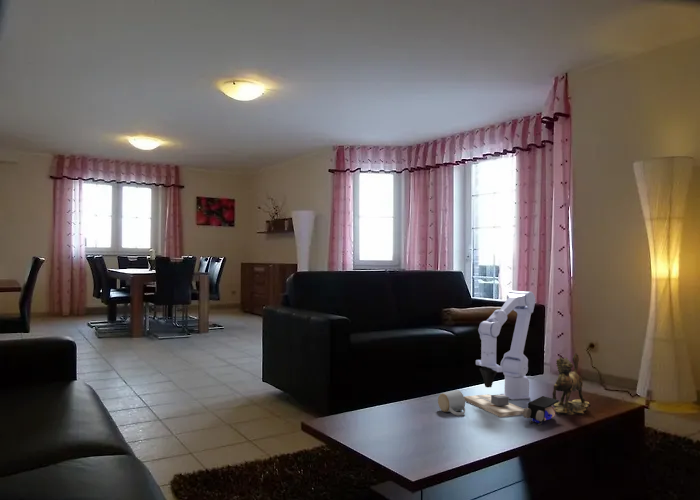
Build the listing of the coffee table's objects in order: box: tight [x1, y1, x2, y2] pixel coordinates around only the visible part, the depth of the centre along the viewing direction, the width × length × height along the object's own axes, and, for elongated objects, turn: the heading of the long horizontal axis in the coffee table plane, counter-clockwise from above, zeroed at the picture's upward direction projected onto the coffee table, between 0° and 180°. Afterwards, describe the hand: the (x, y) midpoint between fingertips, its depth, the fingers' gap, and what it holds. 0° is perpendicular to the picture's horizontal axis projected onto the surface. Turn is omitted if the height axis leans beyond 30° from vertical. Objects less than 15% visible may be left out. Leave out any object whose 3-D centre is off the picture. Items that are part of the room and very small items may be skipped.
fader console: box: [463, 394, 525, 418], centre depth 197 cm, size 12×23×2 cm, turn 21°
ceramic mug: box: [437, 389, 466, 417], centre depth 189 cm, size 10×8×7 cm
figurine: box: [552, 352, 591, 416], centre depth 199 cm, size 13×25×20 cm, turn 136°
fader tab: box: [490, 393, 510, 406], centre depth 194 cm, size 5×4×3 cm
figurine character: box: [522, 396, 560, 427], centre depth 180 cm, size 7×8×15 cm
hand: (488, 386), depth 201 cm, fingers closed
